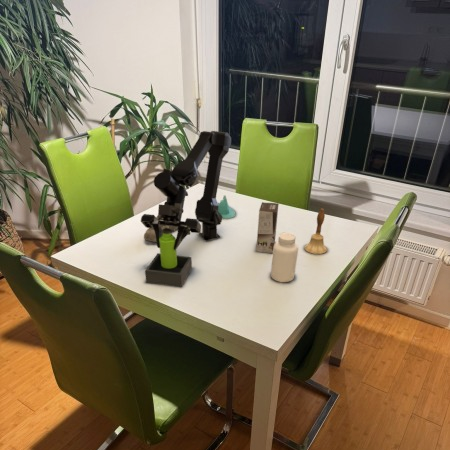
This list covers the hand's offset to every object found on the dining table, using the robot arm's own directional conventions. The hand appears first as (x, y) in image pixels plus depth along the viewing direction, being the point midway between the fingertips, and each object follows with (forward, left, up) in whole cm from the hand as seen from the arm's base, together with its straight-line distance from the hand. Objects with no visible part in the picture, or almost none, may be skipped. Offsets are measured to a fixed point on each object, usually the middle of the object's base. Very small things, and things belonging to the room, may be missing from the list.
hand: (166, 248), depth 131 cm
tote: (-1, +1, -11) cm, 11 cm away
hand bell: (+6, +57, -11) cm, 59 cm away
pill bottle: (+17, +34, -11) cm, 40 cm away
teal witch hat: (-44, +42, -11) cm, 62 cm away
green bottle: (-1, +1, -7) cm, 7 cm away
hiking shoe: (-32, +10, -11) cm, 35 cm away
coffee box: (-4, +41, -11) cm, 43 cm away
